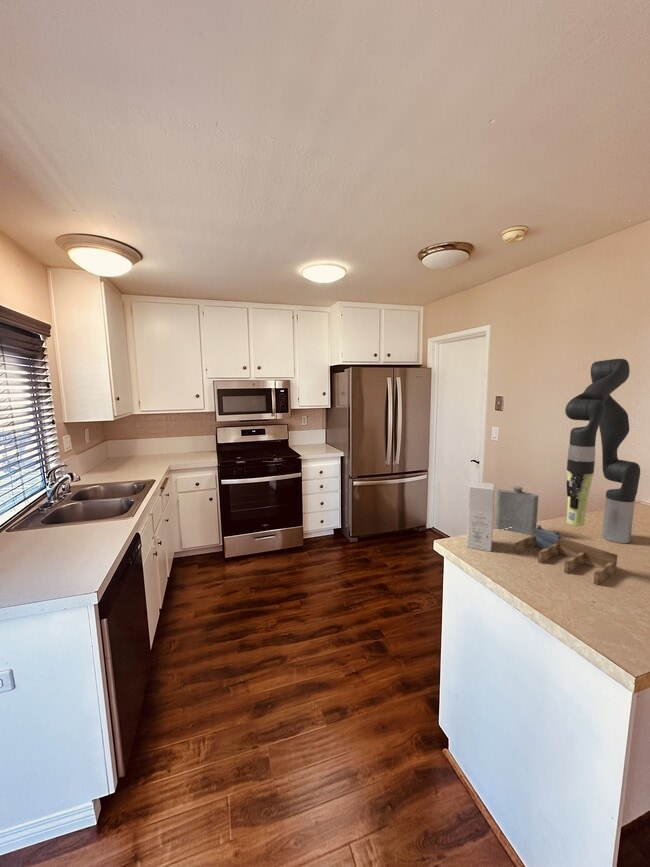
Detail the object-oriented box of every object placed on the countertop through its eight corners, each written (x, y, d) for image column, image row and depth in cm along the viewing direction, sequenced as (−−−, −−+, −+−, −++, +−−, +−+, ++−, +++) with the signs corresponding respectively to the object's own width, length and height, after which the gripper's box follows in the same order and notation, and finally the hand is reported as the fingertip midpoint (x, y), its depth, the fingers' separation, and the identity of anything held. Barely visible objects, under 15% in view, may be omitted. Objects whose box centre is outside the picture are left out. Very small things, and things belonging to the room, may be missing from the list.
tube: (577, 521, 126) (582, 467, 123) (589, 526, 121) (594, 470, 118) (562, 521, 125) (566, 467, 123) (573, 527, 120) (578, 471, 118)
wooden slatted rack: (535, 543, 144) (536, 524, 143) (616, 571, 121) (618, 548, 120) (514, 552, 136) (515, 532, 135) (597, 584, 113) (599, 560, 112)
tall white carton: (492, 543, 145) (495, 483, 141) (490, 551, 137) (494, 489, 134) (469, 538, 149) (471, 481, 145) (466, 547, 141) (469, 486, 138)
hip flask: (494, 528, 159) (496, 485, 157) (496, 525, 163) (498, 483, 160) (535, 536, 151) (538, 490, 148) (536, 533, 154) (539, 488, 151)
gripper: (577, 454, 127) (573, 500, 129) (559, 459, 119) (555, 508, 121) (602, 457, 121) (598, 505, 123) (584, 463, 113) (580, 514, 115)
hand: (577, 506), depth 122 cm, fingers closed on tube, 4 cm apart
